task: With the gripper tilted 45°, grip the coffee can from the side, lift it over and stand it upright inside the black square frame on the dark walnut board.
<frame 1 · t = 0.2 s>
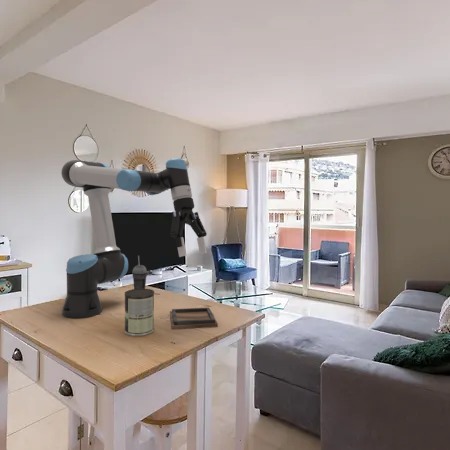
hand: (193, 255, 123), 27 cm above the table, tool tilted 15°, fingers open, 13 cm apart
beverage cup: (139, 296, 165), on the table
walnut board: (192, 320, 133), on the table
coffee can: (139, 331, 121), on the table
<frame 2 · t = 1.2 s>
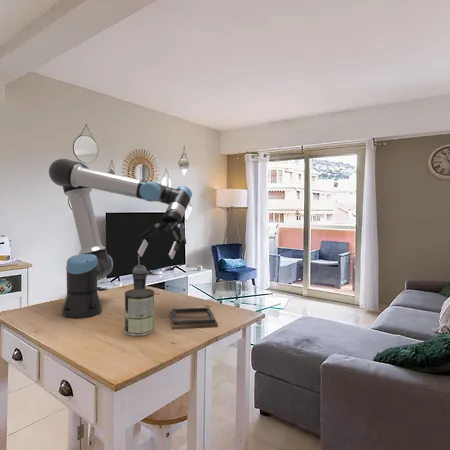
hand: (154, 255, 129), 26 cm above the table, tool tilted 45°, fingers open, 13 cm apart
nothing on the table moved.
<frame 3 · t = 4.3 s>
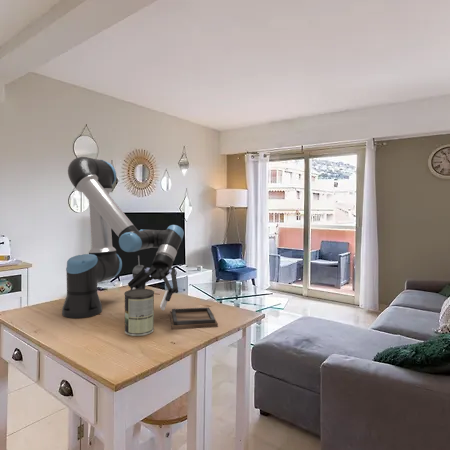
hand: (144, 306, 121), 9 cm above the table, tool tilted 45°, fingers open, 13 cm apart
nothing on the table moved.
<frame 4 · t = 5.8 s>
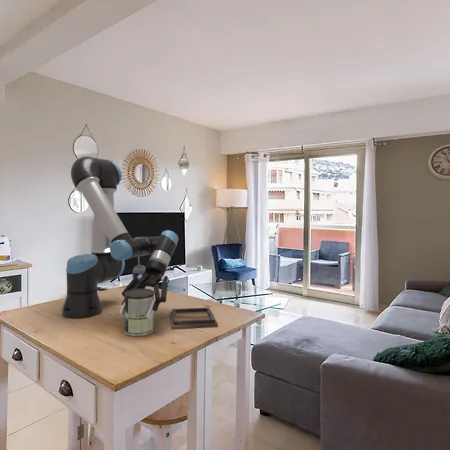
hand: (134, 316, 118), 6 cm above the table, tool tilted 45°, fingers closed on coffee can, 10 cm apart
coffee can: (139, 331, 121), on the table, touching gripper
everything else where it was.
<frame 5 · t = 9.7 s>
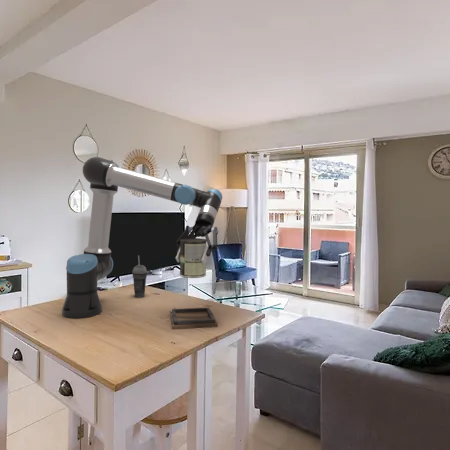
hand: (190, 261, 128), 24 cm above the table, tool tilted 45°, fingers closed on coffee can, 10 cm apart
coffee can: (192, 275, 131), point 18 cm above the table, touching gripper
everything else where it was.
when the fingers open (9 cm above the table, at t = 13.7 s): coffee can drops 2 cm, resting on walnut board.
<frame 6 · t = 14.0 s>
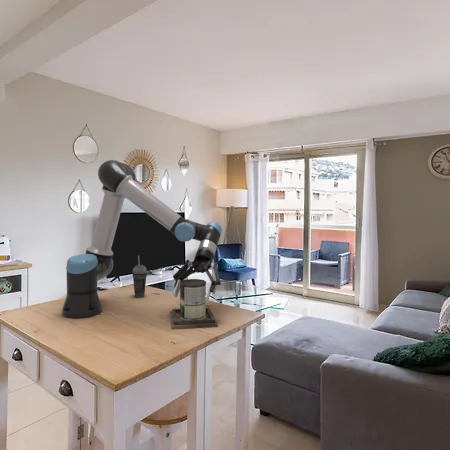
hand: (190, 297, 130), 10 cm above the table, tool tilted 45°, fingers open, 13 cm apart
coffee can: (192, 317, 133), point 1 cm above the table, touching walnut board
everything else where it was.
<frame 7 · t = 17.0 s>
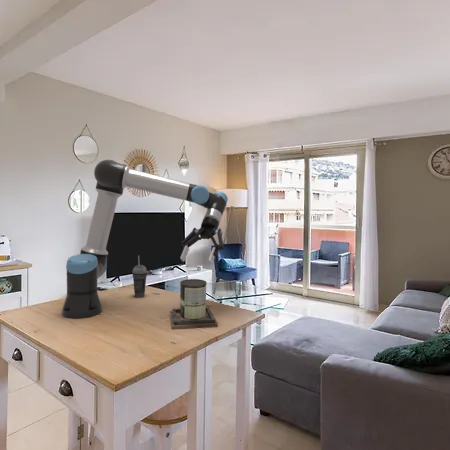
hand: (195, 261, 141), 22 cm above the table, tool tilted 40°, fingers open, 13 cm apart
nothing on the table moved.
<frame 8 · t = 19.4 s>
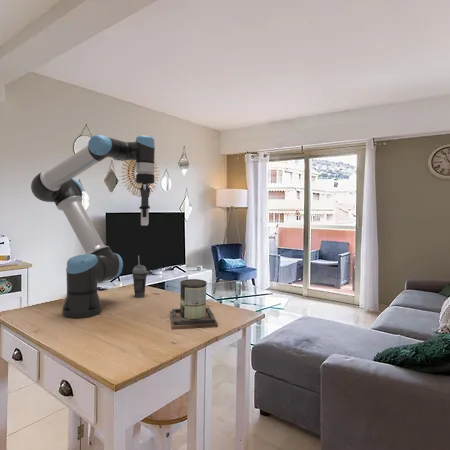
hand: (144, 224, 142), 37 cm above the table, tool pointing down, fingers open, 13 cm apart
nothing on the table moved.
at the end: coffee can 0.1 cm off-centre on the walnut board, point 1.0 cm above the walnut board's base; coffee can tilted 0°; the gripper is holding nothing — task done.
